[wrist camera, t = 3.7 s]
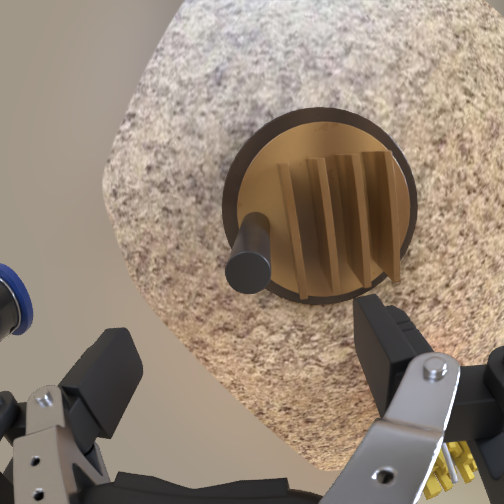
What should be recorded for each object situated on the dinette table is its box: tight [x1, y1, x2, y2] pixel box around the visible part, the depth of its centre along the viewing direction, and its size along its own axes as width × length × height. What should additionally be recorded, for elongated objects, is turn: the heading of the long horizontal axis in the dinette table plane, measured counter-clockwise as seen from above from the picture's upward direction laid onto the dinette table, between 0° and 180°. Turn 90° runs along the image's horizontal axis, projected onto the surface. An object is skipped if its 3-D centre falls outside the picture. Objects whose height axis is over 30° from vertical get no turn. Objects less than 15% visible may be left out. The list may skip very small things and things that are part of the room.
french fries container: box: [423, 441, 478, 500], centre depth 26 cm, size 5×11×18 cm, turn 96°
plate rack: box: [225, 122, 410, 300], centre depth 21 cm, size 16×16×12 cm
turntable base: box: [222, 107, 418, 305], centre depth 28 cm, size 19×19×2 cm
